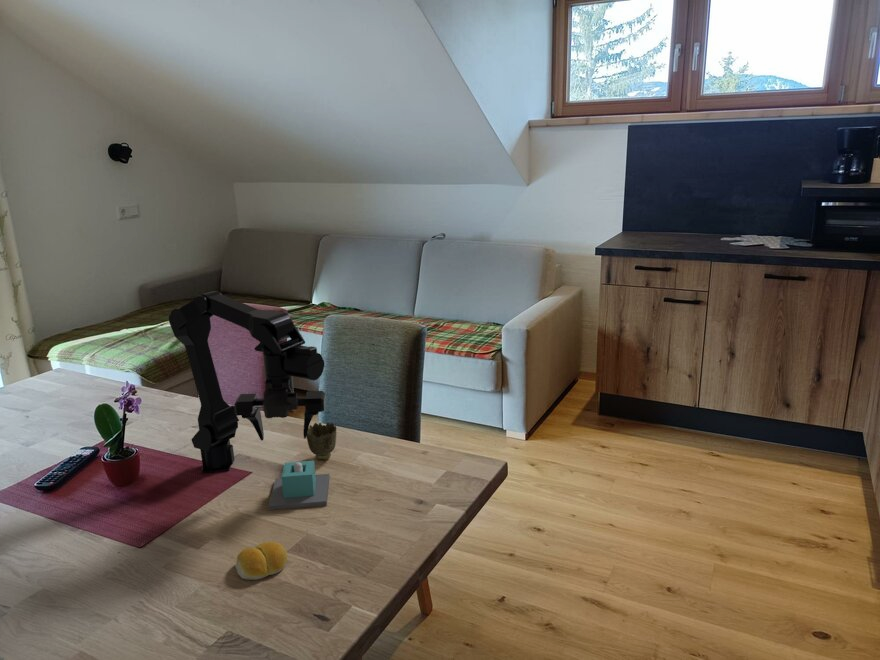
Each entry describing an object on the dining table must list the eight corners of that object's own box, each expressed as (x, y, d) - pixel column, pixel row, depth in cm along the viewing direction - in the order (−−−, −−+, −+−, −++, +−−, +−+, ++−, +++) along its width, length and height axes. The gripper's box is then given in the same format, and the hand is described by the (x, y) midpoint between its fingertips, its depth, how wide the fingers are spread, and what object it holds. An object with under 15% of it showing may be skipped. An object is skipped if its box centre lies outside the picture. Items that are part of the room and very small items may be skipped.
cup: (342, 451, 162) (339, 422, 160) (334, 465, 155) (332, 435, 153) (312, 451, 163) (310, 421, 161) (304, 465, 156) (301, 434, 154)
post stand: (268, 510, 137) (265, 478, 135) (276, 481, 148) (273, 452, 146) (326, 505, 138) (324, 473, 136) (329, 477, 150) (327, 448, 148)
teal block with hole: (283, 497, 140) (281, 476, 138) (286, 483, 146) (284, 462, 144) (313, 495, 140) (312, 474, 139) (315, 480, 146) (314, 460, 145)
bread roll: (294, 568, 118) (292, 549, 117) (245, 587, 113) (242, 567, 112) (278, 546, 125) (276, 528, 124) (231, 563, 120) (228, 544, 119)
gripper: (225, 387, 130) (232, 458, 135) (320, 384, 132) (324, 453, 137) (236, 368, 141) (242, 434, 145) (323, 365, 143) (327, 430, 147)
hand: (283, 438), depth 143 cm, fingers open, 9 cm apart
